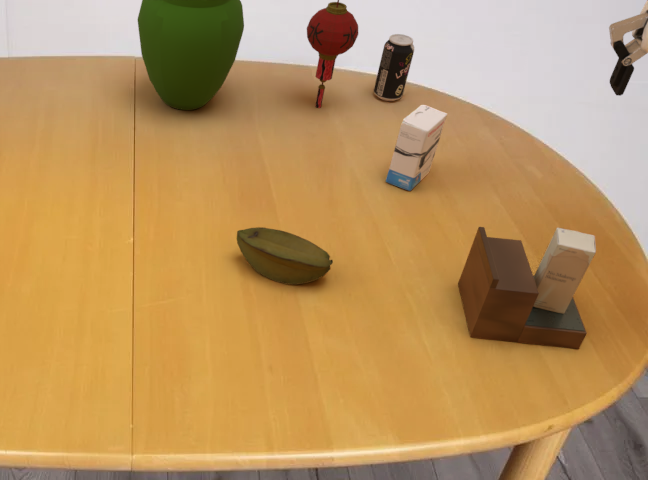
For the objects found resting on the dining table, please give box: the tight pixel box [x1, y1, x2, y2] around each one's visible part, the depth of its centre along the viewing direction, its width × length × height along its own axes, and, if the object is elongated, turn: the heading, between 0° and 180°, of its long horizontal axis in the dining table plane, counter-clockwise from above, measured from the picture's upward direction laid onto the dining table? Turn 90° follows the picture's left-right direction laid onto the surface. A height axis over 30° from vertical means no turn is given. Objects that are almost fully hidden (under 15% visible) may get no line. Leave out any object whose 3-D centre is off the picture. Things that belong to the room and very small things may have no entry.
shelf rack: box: [457, 226, 588, 350], centre depth 123 cm, size 15×12×11 cm
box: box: [533, 226, 597, 314], centre depth 121 cm, size 5×4×11 cm
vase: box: [137, 0, 245, 111], centre depth 162 cm, size 20×20×24 cm
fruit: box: [236, 226, 334, 286], centre depth 130 cm, size 11×12×7 cm
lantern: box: [306, 0, 359, 109], centre depth 161 cm, size 10×10×30 cm
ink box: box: [385, 104, 448, 192], centre depth 149 cm, size 8×5×12 cm, turn 143°
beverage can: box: [373, 33, 415, 102], centre depth 171 cm, size 6×6×12 cm
